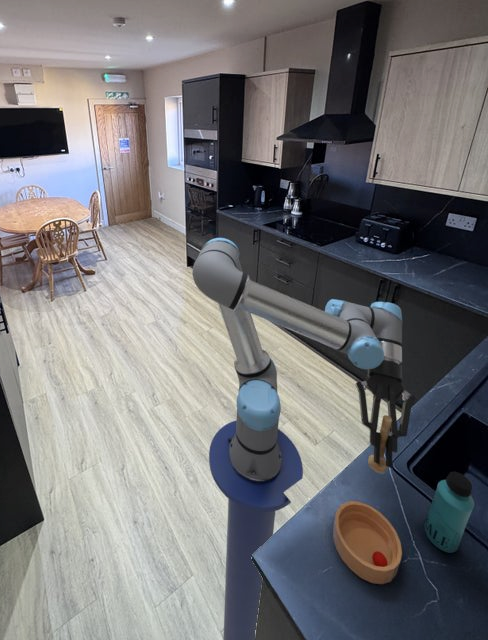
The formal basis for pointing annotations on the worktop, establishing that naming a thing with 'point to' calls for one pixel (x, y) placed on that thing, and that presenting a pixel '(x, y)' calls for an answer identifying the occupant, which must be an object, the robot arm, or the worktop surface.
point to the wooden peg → (381, 446)
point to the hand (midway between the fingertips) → (382, 464)
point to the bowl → (366, 541)
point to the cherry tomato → (379, 559)
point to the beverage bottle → (449, 512)
